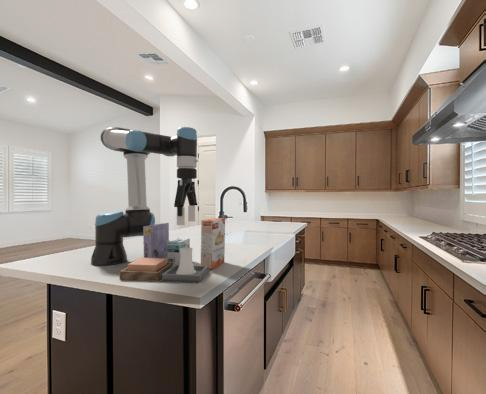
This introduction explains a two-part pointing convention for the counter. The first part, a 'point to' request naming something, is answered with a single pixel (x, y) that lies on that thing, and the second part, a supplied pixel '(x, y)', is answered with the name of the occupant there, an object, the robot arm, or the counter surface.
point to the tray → (174, 277)
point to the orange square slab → (147, 264)
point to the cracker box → (212, 242)
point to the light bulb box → (176, 249)
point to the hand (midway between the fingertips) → (186, 223)
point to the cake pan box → (156, 240)
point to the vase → (186, 262)
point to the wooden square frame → (144, 273)
